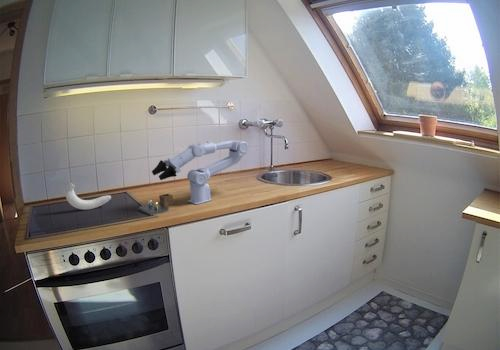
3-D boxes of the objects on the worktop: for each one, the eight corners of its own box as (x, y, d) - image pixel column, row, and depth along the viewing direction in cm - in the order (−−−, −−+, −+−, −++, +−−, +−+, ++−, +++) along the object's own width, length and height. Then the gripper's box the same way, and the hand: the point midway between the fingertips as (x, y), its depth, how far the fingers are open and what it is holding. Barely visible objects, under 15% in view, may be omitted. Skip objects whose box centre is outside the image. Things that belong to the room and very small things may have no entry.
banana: (112, 206, 160) (108, 177, 157) (69, 214, 151) (64, 184, 147) (110, 203, 164) (107, 175, 161) (68, 211, 155) (63, 182, 151)
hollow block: (168, 203, 163) (167, 193, 162) (173, 204, 160) (172, 195, 159) (160, 205, 160) (159, 195, 159) (164, 207, 157) (163, 197, 155)
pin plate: (156, 205, 160) (155, 196, 159) (168, 210, 152) (167, 201, 151) (138, 209, 154) (137, 200, 153) (150, 215, 146) (149, 206, 145)
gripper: (170, 149, 158) (146, 164, 152) (184, 157, 147) (159, 173, 142) (176, 161, 162) (152, 176, 156) (190, 169, 151) (165, 185, 145)
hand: (156, 175), depth 149 cm, fingers open, 7 cm apart
